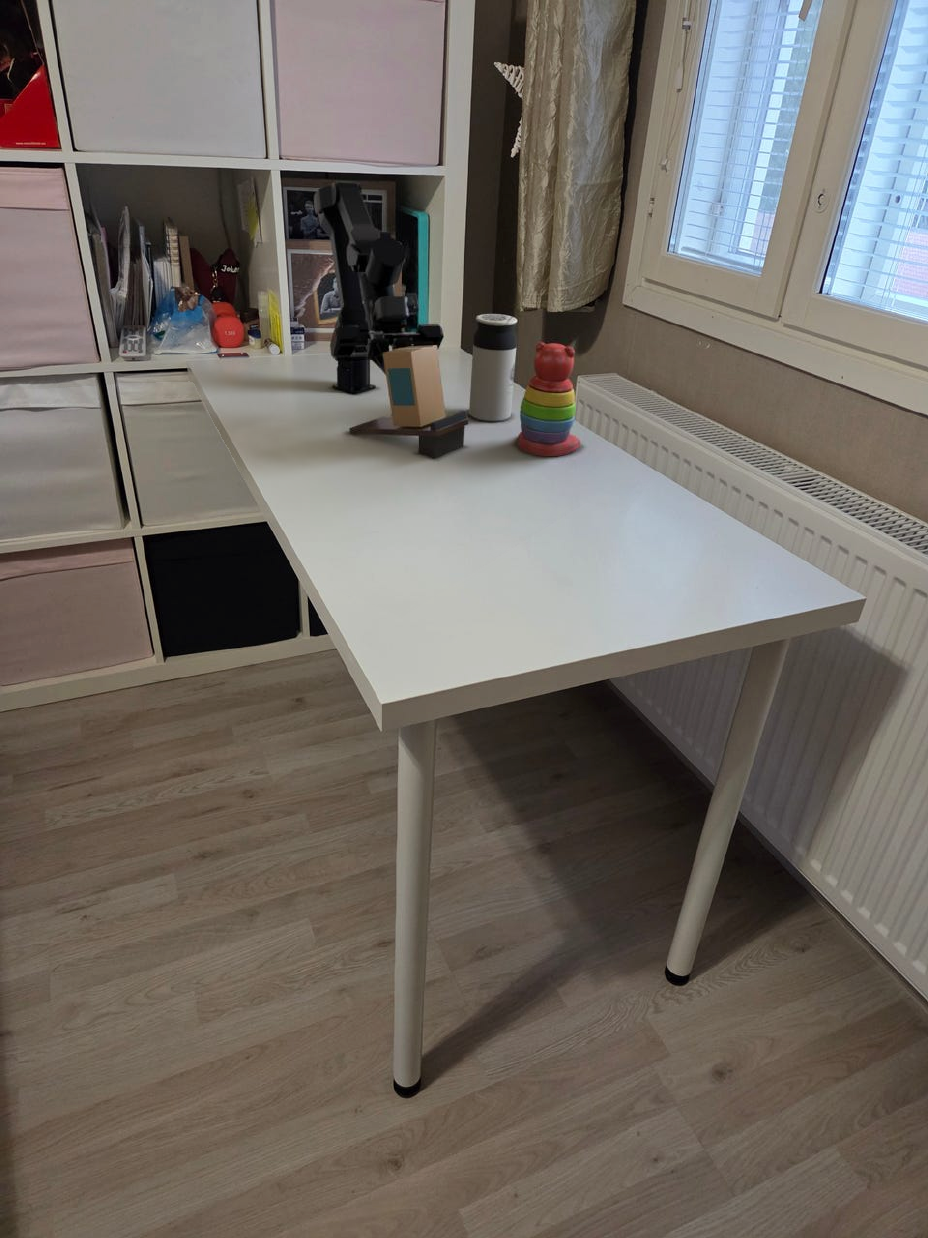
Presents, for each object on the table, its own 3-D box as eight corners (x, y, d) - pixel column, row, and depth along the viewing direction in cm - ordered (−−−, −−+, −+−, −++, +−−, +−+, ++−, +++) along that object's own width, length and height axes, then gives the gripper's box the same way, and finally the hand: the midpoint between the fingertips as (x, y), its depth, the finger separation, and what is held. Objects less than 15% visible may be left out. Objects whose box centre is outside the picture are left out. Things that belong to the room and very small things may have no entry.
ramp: (349, 433, 149) (348, 398, 146) (382, 421, 155) (382, 388, 152) (436, 460, 140) (437, 424, 137) (467, 446, 146) (469, 412, 143)
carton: (381, 422, 145) (382, 344, 138) (407, 413, 150) (409, 338, 143) (420, 434, 141) (422, 354, 134) (445, 424, 146) (449, 347, 139)
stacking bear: (582, 444, 151) (596, 342, 142) (564, 461, 143) (577, 354, 134) (526, 433, 154) (536, 332, 145) (505, 449, 146) (514, 344, 137)
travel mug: (462, 417, 160) (468, 318, 151) (477, 406, 167) (484, 311, 157) (502, 424, 158) (510, 324, 149) (515, 413, 164) (524, 317, 155)
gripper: (333, 274, 137) (349, 360, 134) (442, 274, 143) (460, 357, 140) (324, 314, 147) (339, 395, 144) (427, 313, 153) (443, 391, 150)
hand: (396, 384), depth 144 cm, fingers closed
